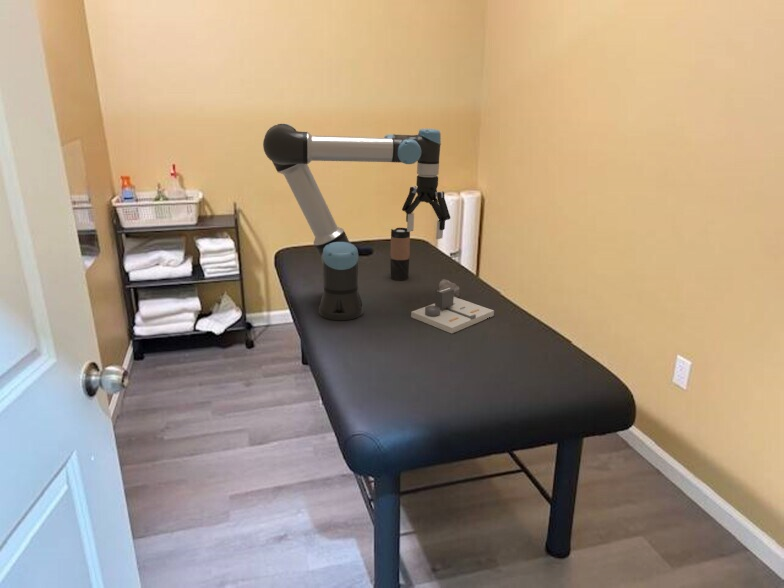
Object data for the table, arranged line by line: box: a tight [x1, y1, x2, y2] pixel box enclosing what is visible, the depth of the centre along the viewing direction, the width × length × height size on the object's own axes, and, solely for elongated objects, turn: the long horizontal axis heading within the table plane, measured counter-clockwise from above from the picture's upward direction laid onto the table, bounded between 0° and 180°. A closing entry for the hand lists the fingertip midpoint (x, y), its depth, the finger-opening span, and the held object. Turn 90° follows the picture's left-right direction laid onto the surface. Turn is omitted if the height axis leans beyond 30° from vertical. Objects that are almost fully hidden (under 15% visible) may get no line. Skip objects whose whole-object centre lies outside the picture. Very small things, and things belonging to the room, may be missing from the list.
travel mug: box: [389, 227, 411, 282], centre depth 229 cm, size 8×8×20 cm
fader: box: [434, 287, 454, 310], centre depth 195 cm, size 6×3×6 cm, turn 134°
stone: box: [438, 278, 461, 298], centre depth 212 cm, size 8×10×6 cm
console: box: [410, 297, 495, 334], centre depth 194 cm, size 22×18×4 cm
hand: (424, 234), depth 206 cm, fingers open, 13 cm apart
